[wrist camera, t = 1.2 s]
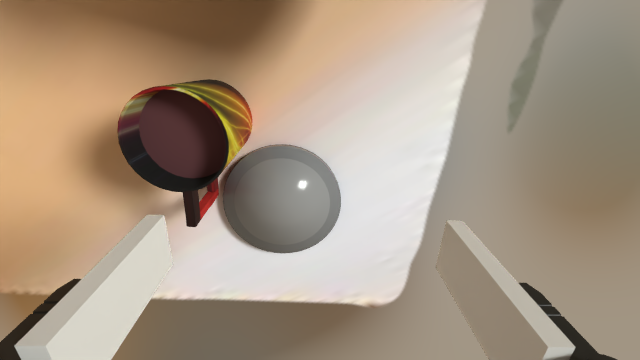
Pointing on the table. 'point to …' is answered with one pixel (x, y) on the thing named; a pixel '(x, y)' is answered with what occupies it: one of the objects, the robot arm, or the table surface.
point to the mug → (185, 138)
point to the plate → (282, 199)
